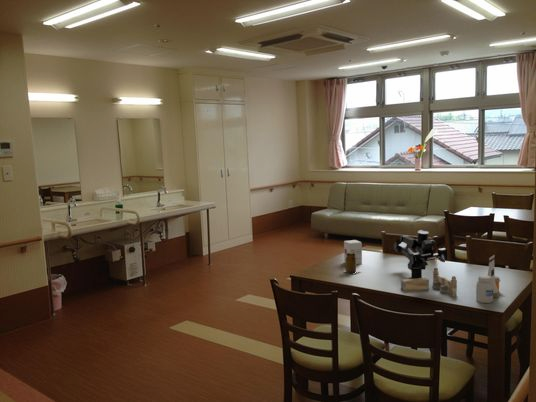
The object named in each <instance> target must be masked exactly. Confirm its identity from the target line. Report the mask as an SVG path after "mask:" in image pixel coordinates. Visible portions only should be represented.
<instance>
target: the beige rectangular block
mask: <svg viewBox="0 0 536 402" xmlns="http://www.w3.org/2000/svg"><path fill="white" fill-rule="evenodd" d="M429 287H430V279H428V278H426V277H422V278H418V279H409V278H408V279H407V278H406V279H400V289H401V290H402V291H404V292H407V291H418V290H419V291H420V290H422V291H423V290H429V289H430V288H429Z"/></svg>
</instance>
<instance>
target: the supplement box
mask: <svg viewBox="0 0 536 402" xmlns="http://www.w3.org/2000/svg"><path fill="white" fill-rule="evenodd" d="M362 244H363V243H362V242H361V241H359V240H357V239H352V240H344V241H343V246H344V247H343V252H344V253H343V254H344V255H343V256H344V257H343V258H344V259H343V263H344V262H345V263H344V264H346V257H347V253H349V252H352V253H355V258H356V264H359V265H362V263H363V250H362V249H363V245H362Z"/></svg>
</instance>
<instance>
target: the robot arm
mask: <svg viewBox="0 0 536 402" xmlns="http://www.w3.org/2000/svg"><path fill="white" fill-rule="evenodd" d="M435 246H436V241H435V240H434V239H429V231H426V230H423V229H418V231H417V238H416V239H415V238H413V237H411V236H410V235H407V234H404V235H403V234H402V235H400V236H399V238H397V239H396V240H395V241H394V243H393V249H394V250H395V252H397V253H401V254H402V255H404V257H405V258H407V259H408V263H407V269H409V270H410V272H411V274H410V275H411V276H410V277H408V279H418V278H423V275H422V274H423V273H422V272H423V270H426V268H427V266H428V265H429V264H428V261H433V260H434V259H438V260H439V262H441V263H446V260H448V249H446V248H445V247H443V248H441V247H440V248H437V253H434V248H433V247H435ZM414 251H415V252H414Z"/></svg>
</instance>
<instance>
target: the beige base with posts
mask: <svg viewBox="0 0 536 402" xmlns="http://www.w3.org/2000/svg"><path fill="white" fill-rule="evenodd" d="M432 275H433V277H432V289H433V290H438V289H439V293H441V294H449V295H450V296H455V297H456V296H457V295H458V294H457V291H458V290H457V288H458V287H457V286H458V285H457V284H458V283H457V282H458V281H457V277H456V275H453V276H451V279H449V278H447V277H444V276H443V275H441V274H439V268H438V267H434V268H433V271H432Z"/></svg>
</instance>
